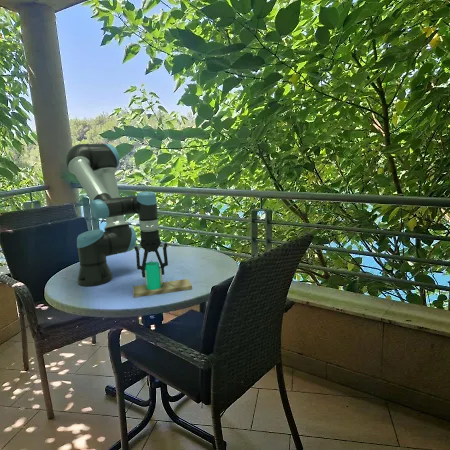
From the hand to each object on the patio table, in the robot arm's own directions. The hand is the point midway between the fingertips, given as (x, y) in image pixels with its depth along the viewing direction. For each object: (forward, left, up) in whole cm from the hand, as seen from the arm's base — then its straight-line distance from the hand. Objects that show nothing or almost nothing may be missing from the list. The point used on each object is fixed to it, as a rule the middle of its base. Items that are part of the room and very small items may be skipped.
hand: (154, 283), depth 143 cm
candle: (0, 0, -2) cm, 2 cm away
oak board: (+3, 0, -3) cm, 5 cm away
